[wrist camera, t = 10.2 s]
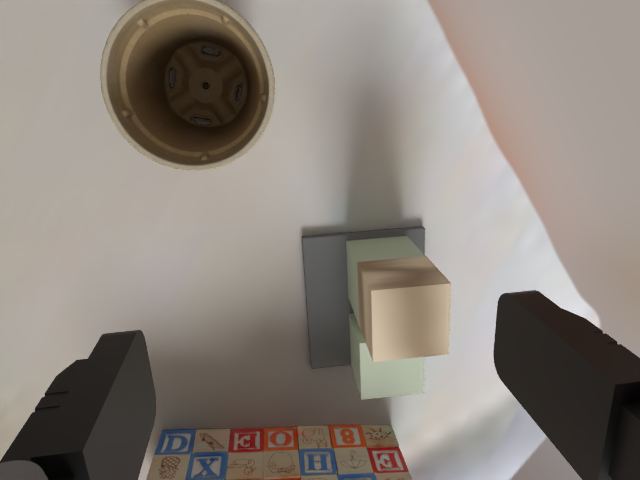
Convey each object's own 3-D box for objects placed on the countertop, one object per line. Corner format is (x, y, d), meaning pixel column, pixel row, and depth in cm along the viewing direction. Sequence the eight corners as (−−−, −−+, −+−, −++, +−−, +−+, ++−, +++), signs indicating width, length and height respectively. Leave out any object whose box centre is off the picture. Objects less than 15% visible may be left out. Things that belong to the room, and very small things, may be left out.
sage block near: (348, 297, 40) (358, 325, 36) (346, 240, 39) (356, 262, 34) (406, 292, 41) (424, 319, 36) (406, 235, 39) (425, 256, 34)
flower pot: (255, 0, 33) (250, -27, 25) (286, 135, 36) (291, 151, 28) (121, 30, 33) (73, 12, 25) (164, 163, 36) (133, 187, 28)
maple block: (359, 325, 35) (373, 362, 31) (357, 262, 34) (371, 290, 29) (424, 318, 36) (448, 354, 31) (425, 256, 34) (451, 283, 30)
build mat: (311, 365, 43) (311, 368, 42) (301, 236, 39) (302, 238, 38) (421, 353, 43) (423, 357, 43) (422, 226, 40) (424, 228, 39)
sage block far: (351, 364, 42) (361, 399, 38) (349, 313, 41) (359, 343, 36) (406, 358, 43) (423, 392, 38) (406, 308, 41) (424, 336, 36)
